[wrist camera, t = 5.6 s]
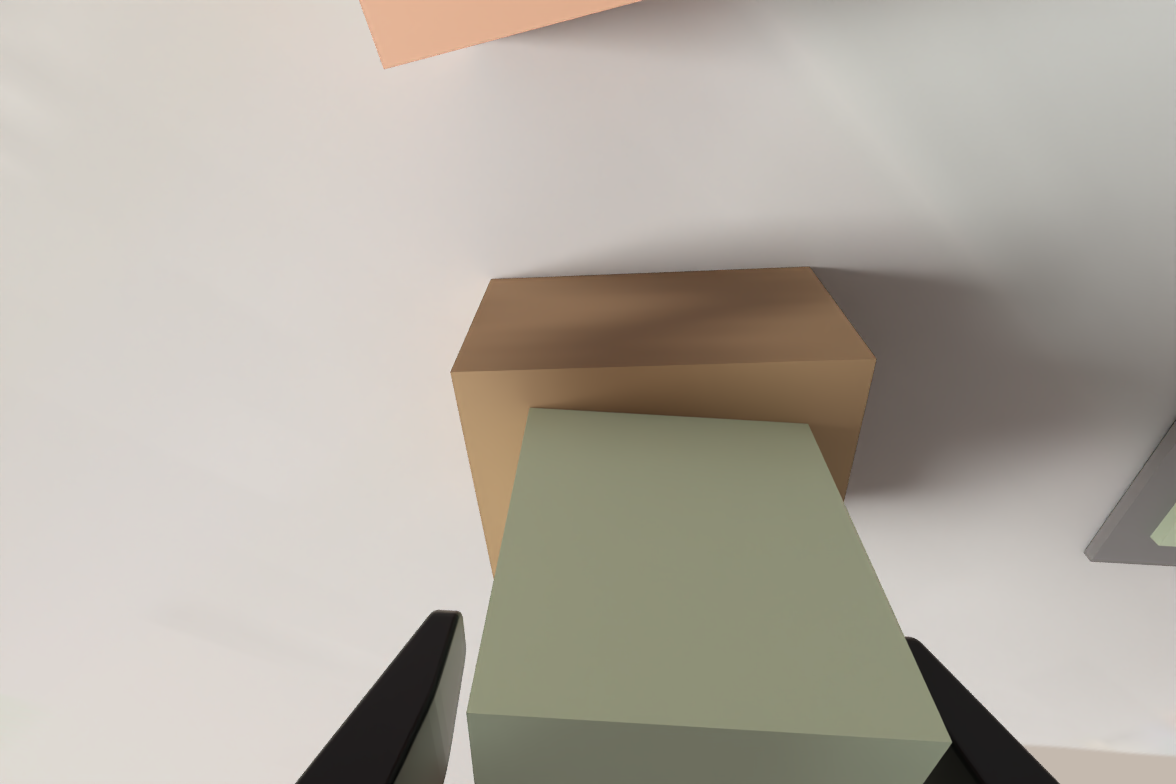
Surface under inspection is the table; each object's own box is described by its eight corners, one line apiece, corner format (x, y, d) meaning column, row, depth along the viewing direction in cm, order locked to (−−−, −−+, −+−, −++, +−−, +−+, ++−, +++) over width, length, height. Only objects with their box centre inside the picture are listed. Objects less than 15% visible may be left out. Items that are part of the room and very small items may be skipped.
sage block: (754, 603, 12) (826, 919, 8) (531, 590, 12) (488, 898, 8) (808, 423, 10) (951, 741, 6) (529, 407, 10) (466, 712, 6)
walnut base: (805, 261, 12) (876, 358, 9) (772, 497, 16) (814, 630, 13) (493, 274, 13) (450, 372, 10) (526, 502, 16) (504, 631, 13)
